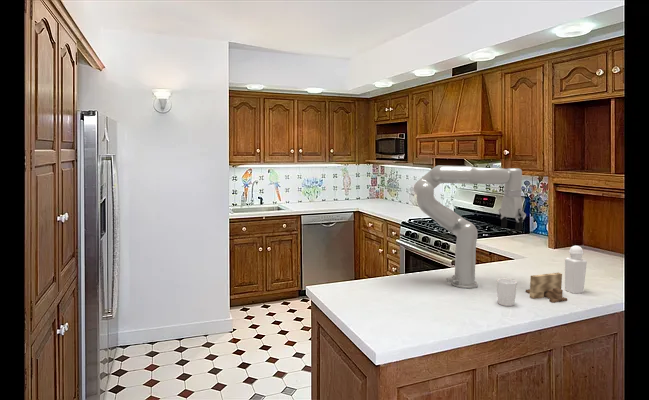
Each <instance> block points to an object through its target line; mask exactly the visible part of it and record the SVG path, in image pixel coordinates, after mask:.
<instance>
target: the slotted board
mask: <svg viewBox="0 0 649 400" xmlns="http://www.w3.org/2000/svg"><path fill="white" fill-rule="evenodd" d="M562 280H563V273H561V272H553V273H543V274H535V275H530V280H529V281H530V283H529V289H530V293H529V298H530V299H533V300H535V299H542V298H545V297H544V292H546V291H547V292H548V290H553V288H559V289H561V290H562V286H563V285H562V283H563V281H562Z"/></svg>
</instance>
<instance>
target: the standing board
mask: <svg viewBox="0 0 649 400" xmlns="http://www.w3.org/2000/svg"><path fill="white" fill-rule="evenodd" d="M563 292H564V290H563V289H562V288H561V289H559V288H553V290H548V292H547V291H546V292H544V297H543V298H547V299H549V300H548V301H549V302H550V303H554V304H555V303H560V302H567V301H568V298H567V297H564V296H563V294H564V293H563ZM525 293H527V294H530V288H529V289H525Z"/></svg>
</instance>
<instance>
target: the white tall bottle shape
mask: <svg viewBox="0 0 649 400" xmlns="http://www.w3.org/2000/svg"><path fill="white" fill-rule="evenodd" d="M568 253H569V255H570V257H566V258H565V259H564V290H565V291H566V292H569V293H570V294H584V290H585V281H586V272H587V264H588V261H587V260H586V259H583V257H582V256H583V255H584V250H583V248H582V247H581V246H580V245H572V246H571V247H569V251H568Z"/></svg>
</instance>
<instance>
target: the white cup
mask: <svg viewBox="0 0 649 400" xmlns="http://www.w3.org/2000/svg"><path fill="white" fill-rule="evenodd" d="M517 283H518V282H517V281H516V280H514V279H512V278H498V279H497V280H496V291H497V294H496V296H497V304H499V305H501V306H505V307H513V306H514V305H515V303H516V302H515V301H516V300H515V299H516V294H517V285H518V284H517Z"/></svg>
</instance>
